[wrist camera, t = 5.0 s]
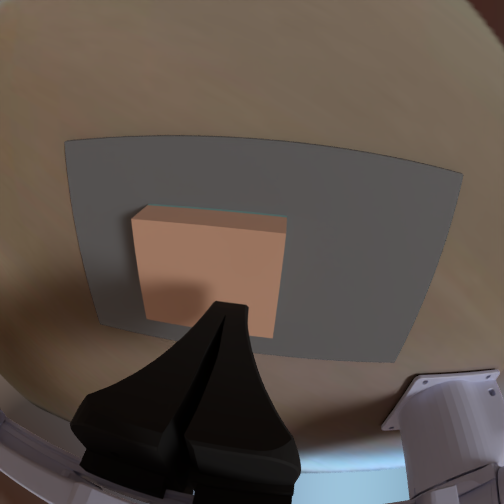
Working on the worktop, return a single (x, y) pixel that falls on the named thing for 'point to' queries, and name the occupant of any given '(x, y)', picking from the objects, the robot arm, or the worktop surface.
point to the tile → (209, 263)
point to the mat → (297, 232)
